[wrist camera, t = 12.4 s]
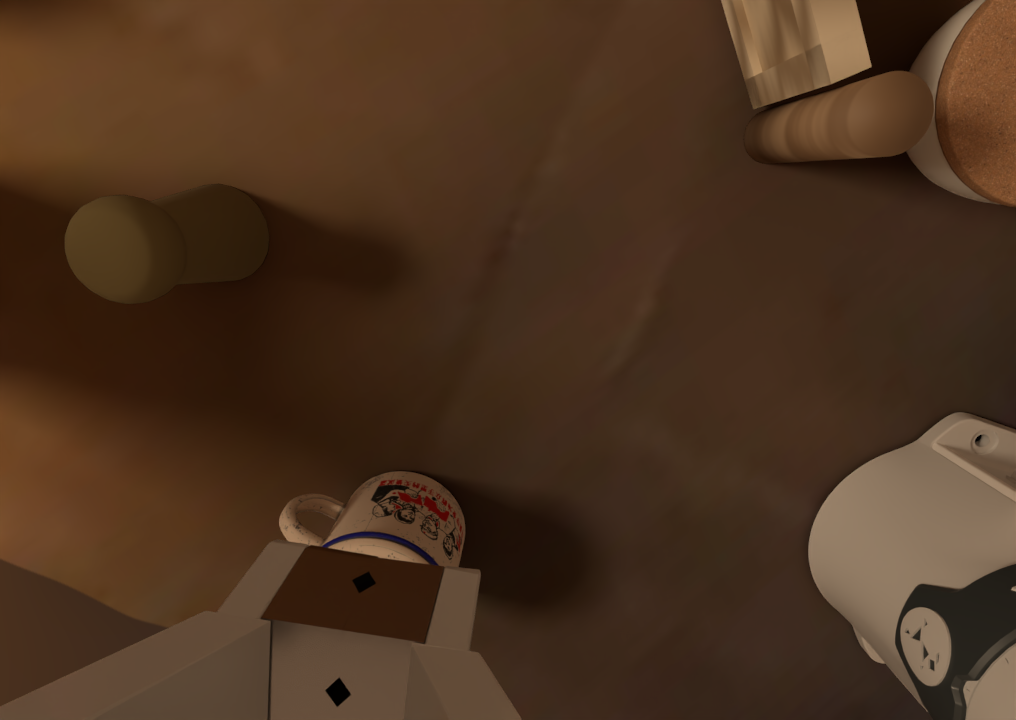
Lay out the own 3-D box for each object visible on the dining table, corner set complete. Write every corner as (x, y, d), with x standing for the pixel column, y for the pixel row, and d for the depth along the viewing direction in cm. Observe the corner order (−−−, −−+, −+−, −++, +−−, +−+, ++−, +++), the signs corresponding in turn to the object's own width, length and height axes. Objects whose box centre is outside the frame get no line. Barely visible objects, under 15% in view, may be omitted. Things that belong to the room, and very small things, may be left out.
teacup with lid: (494, 509, 44) (477, 624, 32) (427, 600, 46) (390, 735, 35) (345, 419, 42) (274, 506, 31) (285, 516, 45) (198, 630, 33)
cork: (155, 218, 39) (11, 234, 29) (227, 163, 38) (105, 158, 27) (216, 298, 40) (100, 342, 30) (288, 248, 39) (194, 275, 29)
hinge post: (803, 111, 35) (945, 76, 23) (789, 167, 36) (918, 161, 24) (750, 104, 35) (863, 65, 23) (738, 159, 36) (840, 150, 24)
